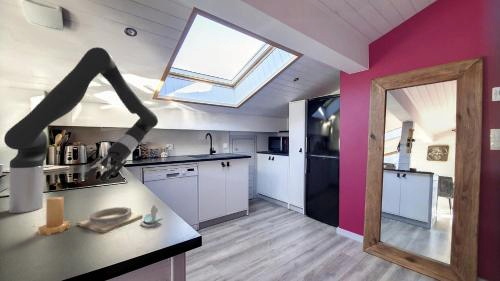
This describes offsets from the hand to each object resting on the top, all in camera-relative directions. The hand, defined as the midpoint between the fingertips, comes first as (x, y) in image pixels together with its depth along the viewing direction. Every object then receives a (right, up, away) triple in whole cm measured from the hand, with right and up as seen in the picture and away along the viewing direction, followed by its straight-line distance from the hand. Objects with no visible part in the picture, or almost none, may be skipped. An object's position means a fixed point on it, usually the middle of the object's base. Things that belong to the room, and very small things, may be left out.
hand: (93, 179), depth 76 cm
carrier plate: (+8, -14, -2) cm, 17 cm away
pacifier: (+23, -15, -4) cm, 28 cm away
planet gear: (-5, -14, -10) cm, 18 cm away
